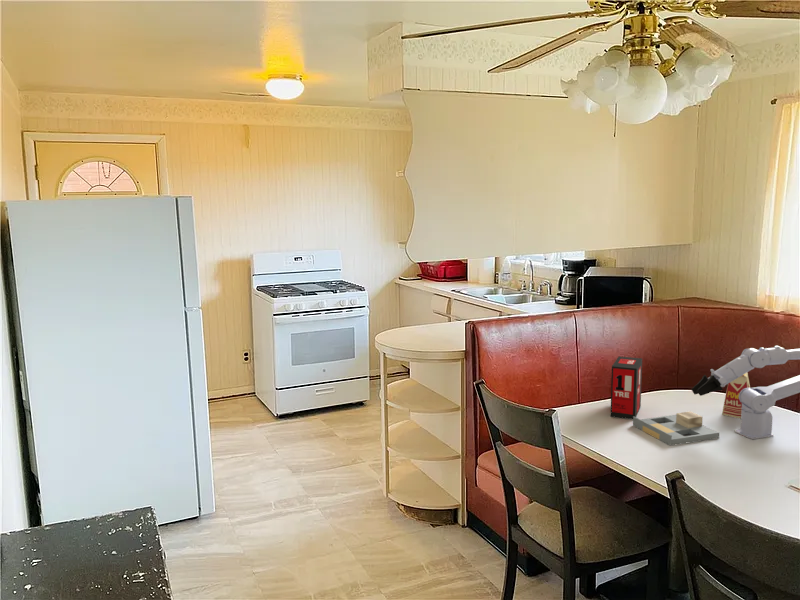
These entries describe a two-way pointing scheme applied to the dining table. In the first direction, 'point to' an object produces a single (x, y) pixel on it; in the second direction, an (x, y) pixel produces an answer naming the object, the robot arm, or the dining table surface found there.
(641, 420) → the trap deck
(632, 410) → the cleaning product box
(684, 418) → the birch block
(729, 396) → the milk carton
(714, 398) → the dining table surface
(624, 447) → the dining table surface
